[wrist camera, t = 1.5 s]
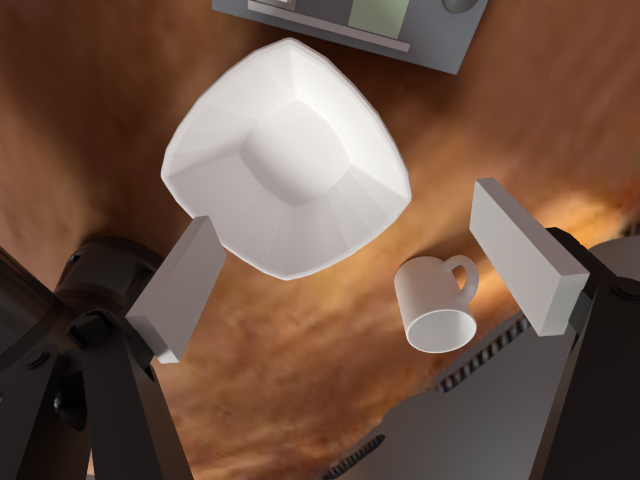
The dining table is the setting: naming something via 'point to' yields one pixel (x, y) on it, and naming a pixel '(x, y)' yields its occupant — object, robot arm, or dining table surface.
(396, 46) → the panel
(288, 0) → the slider
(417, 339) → the mug
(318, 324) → the dining table surface
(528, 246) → the robot arm
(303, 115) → the bowl
